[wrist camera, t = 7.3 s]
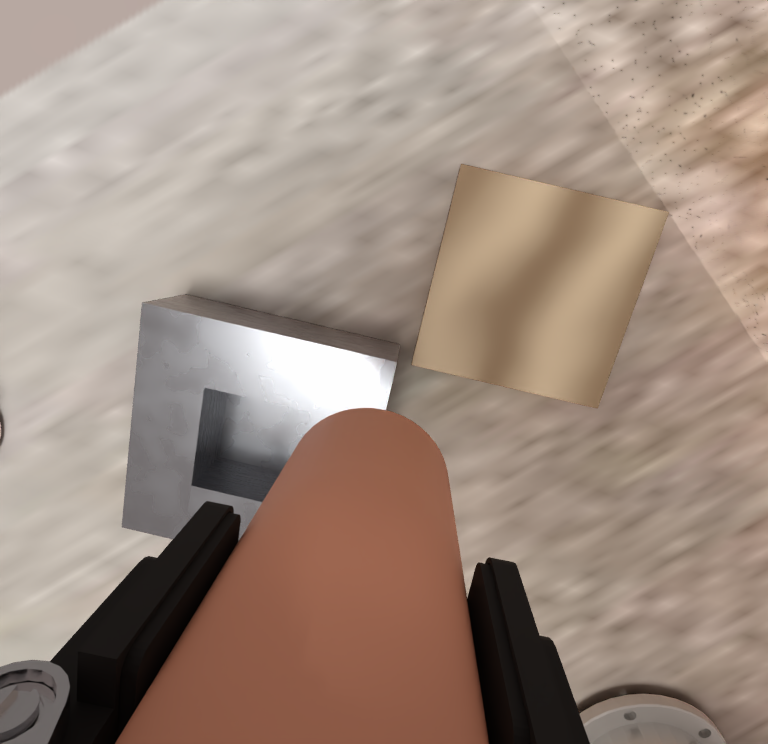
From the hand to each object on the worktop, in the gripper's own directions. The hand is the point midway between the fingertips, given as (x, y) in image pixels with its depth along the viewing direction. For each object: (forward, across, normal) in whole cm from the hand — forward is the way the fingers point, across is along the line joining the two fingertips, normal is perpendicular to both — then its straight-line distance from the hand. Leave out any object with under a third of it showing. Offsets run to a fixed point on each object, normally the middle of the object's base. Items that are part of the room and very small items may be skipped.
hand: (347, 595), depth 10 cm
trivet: (+21, -7, -6) cm, 23 cm away
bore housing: (+21, +7, +5) cm, 23 cm away
